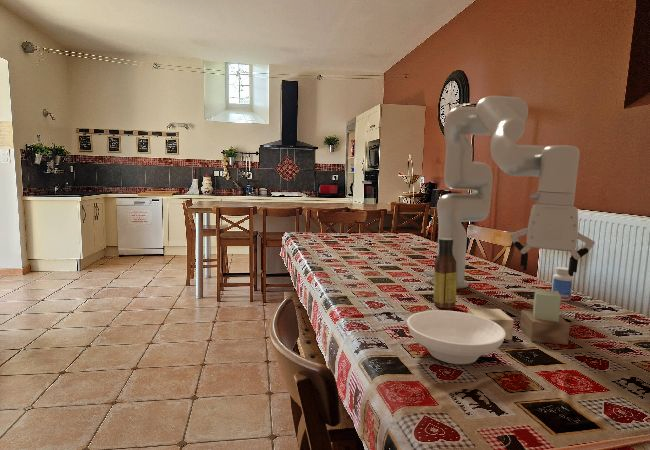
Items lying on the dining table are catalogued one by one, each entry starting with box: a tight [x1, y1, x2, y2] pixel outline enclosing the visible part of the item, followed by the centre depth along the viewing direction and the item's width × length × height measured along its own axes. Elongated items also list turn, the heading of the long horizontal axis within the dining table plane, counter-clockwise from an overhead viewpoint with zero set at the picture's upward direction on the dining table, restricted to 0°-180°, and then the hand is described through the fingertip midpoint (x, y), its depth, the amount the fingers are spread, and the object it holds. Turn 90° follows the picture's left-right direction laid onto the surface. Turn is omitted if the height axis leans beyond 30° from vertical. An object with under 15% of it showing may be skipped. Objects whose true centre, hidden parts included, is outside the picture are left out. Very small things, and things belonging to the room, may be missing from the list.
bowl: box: [406, 309, 506, 365], centre depth 86 cm, size 20×20×7 cm
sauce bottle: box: [433, 238, 457, 310], centre depth 119 cm, size 7×6×20 cm
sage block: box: [532, 288, 562, 322], centre depth 98 cm, size 5×5×6 cm
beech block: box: [467, 307, 515, 341], centre depth 100 cm, size 8×8×5 cm
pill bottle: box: [551, 266, 573, 302], centre depth 130 cm, size 6×5×10 cm
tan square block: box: [519, 310, 571, 345], centre depth 99 cm, size 8×8×5 cm
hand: (547, 272), depth 98 cm, fingers open, 9 cm apart
